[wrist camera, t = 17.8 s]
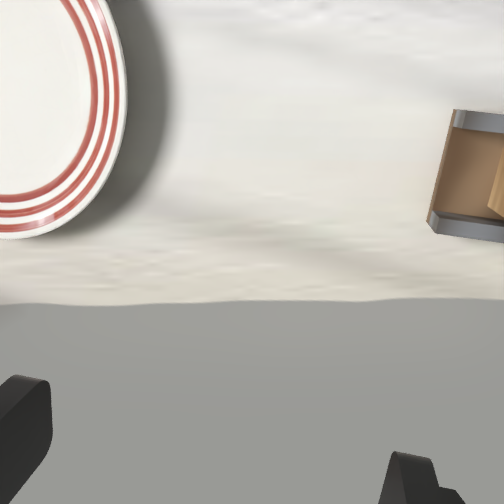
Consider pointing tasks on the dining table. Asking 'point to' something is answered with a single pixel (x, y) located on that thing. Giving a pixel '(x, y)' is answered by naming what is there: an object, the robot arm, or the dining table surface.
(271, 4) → the dining table surface
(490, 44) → the dining table surface
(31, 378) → the robot arm
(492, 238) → the walnut track
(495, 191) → the oak block
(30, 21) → the dinner plate
